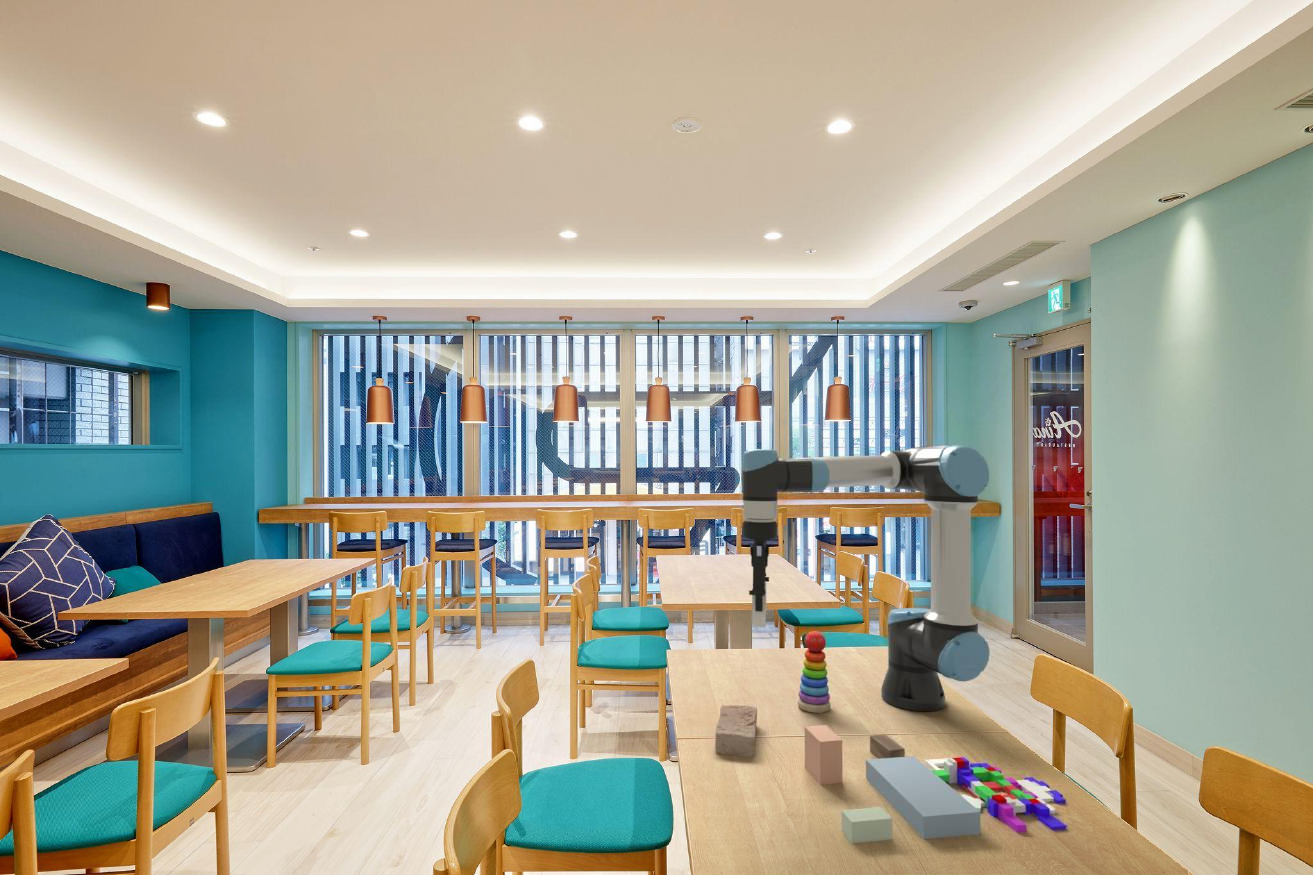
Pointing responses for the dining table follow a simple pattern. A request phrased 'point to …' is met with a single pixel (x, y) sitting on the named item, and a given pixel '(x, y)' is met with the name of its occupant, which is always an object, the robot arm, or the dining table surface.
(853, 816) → the sage block
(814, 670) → the stacking toy
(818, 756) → the terracotta block
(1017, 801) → the building block set
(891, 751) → the walnut block
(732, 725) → the brick
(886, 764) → the base block
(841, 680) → the dining table surface
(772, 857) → the dining table surface
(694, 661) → the dining table surface
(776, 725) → the dining table surface
